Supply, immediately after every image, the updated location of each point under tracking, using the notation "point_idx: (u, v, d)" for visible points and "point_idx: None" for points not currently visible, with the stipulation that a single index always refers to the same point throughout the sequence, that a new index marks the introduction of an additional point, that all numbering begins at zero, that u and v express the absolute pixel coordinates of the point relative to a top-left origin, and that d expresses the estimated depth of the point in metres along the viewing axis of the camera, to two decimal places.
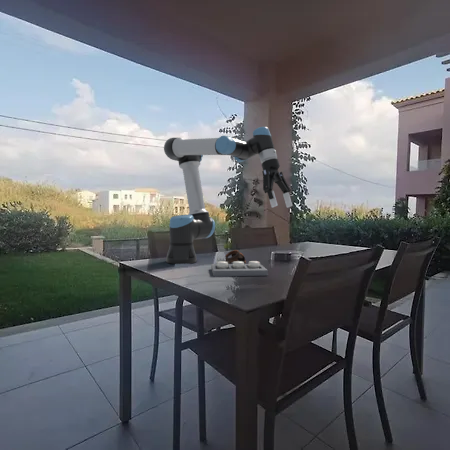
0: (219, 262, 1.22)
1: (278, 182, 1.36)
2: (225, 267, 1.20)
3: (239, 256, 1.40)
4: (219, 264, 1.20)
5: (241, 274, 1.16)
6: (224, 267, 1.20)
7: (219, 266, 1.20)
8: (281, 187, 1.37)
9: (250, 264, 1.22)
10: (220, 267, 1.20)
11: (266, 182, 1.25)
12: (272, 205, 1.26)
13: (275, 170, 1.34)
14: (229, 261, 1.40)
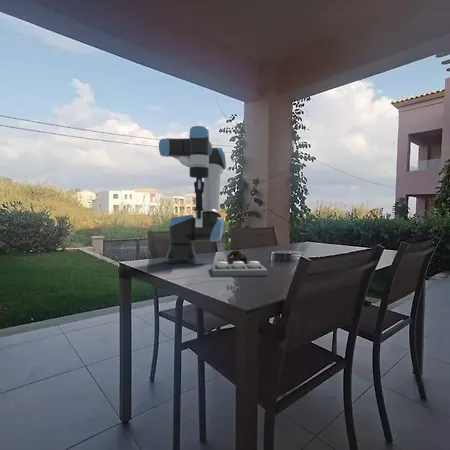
0: (219, 262, 1.22)
1: None
2: (225, 267, 1.20)
3: (241, 256, 1.40)
4: (219, 264, 1.20)
5: (241, 274, 1.16)
6: (224, 267, 1.20)
7: (219, 266, 1.20)
8: None
9: (250, 264, 1.22)
10: (220, 267, 1.20)
11: None
12: None
13: None
14: (231, 261, 1.40)
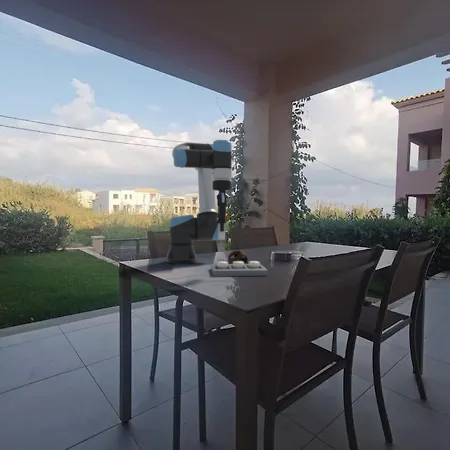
0: (219, 262, 1.22)
1: None
2: (225, 267, 1.20)
3: (242, 256, 1.40)
4: (219, 264, 1.20)
5: (241, 274, 1.16)
6: (224, 267, 1.20)
7: (219, 266, 1.20)
8: None
9: (250, 264, 1.22)
10: (220, 267, 1.20)
11: None
12: None
13: None
14: (232, 261, 1.40)
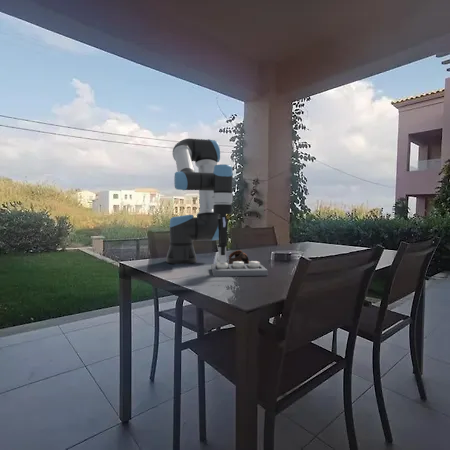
0: (219, 263, 1.22)
1: None
2: (225, 268, 1.20)
3: (243, 256, 1.40)
4: (219, 265, 1.20)
5: (241, 274, 1.16)
6: (224, 268, 1.20)
7: (219, 267, 1.20)
8: None
9: (250, 264, 1.22)
10: (220, 268, 1.20)
11: None
12: None
13: None
14: (233, 261, 1.40)
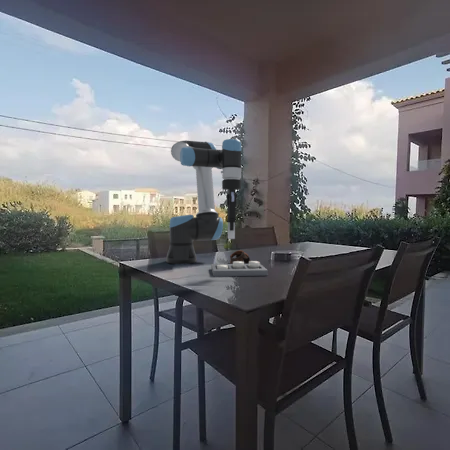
0: (219, 266, 1.22)
1: None
2: None
3: (244, 256, 1.40)
4: (219, 267, 1.20)
5: (241, 274, 1.16)
6: None
7: None
8: None
9: (250, 264, 1.22)
10: None
11: None
12: None
13: None
14: None
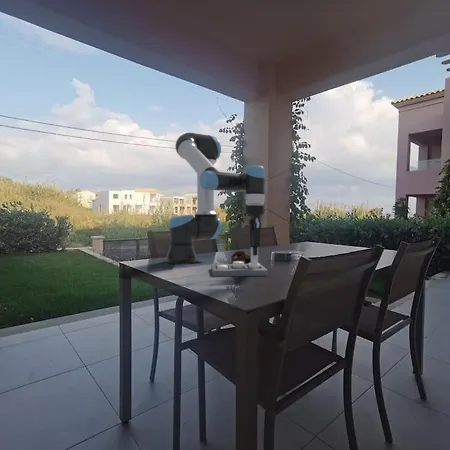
0: (219, 266, 1.22)
1: None
2: None
3: (245, 256, 1.40)
4: (219, 267, 1.20)
5: (241, 274, 1.16)
6: None
7: None
8: None
9: (250, 266, 1.22)
10: None
11: None
12: None
13: None
14: None
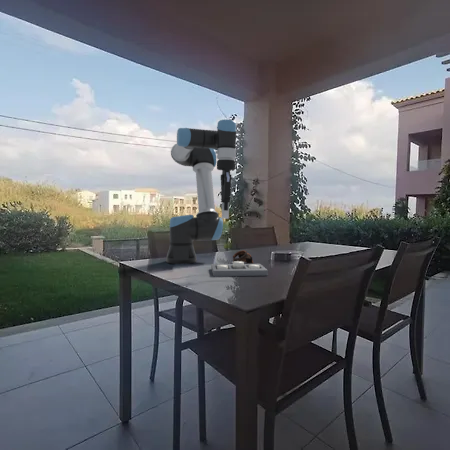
0: (219, 266, 1.22)
1: None
2: None
3: (247, 256, 1.39)
4: (219, 267, 1.20)
5: (241, 274, 1.16)
6: None
7: None
8: None
9: (250, 268, 1.22)
10: None
11: None
12: None
13: (224, 168, 1.20)
14: None
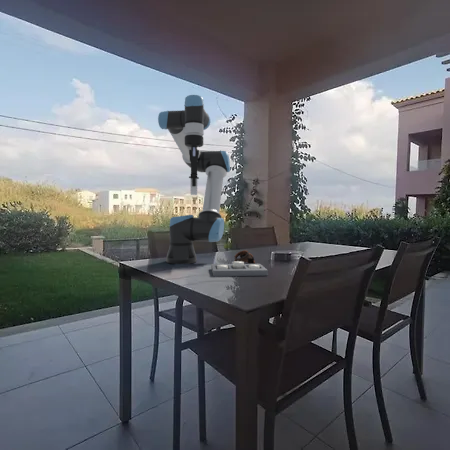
0: (219, 266, 1.22)
1: None
2: None
3: (249, 256, 1.39)
4: (219, 267, 1.20)
5: (241, 274, 1.16)
6: None
7: None
8: None
9: (250, 268, 1.22)
10: None
11: None
12: None
13: None
14: None
